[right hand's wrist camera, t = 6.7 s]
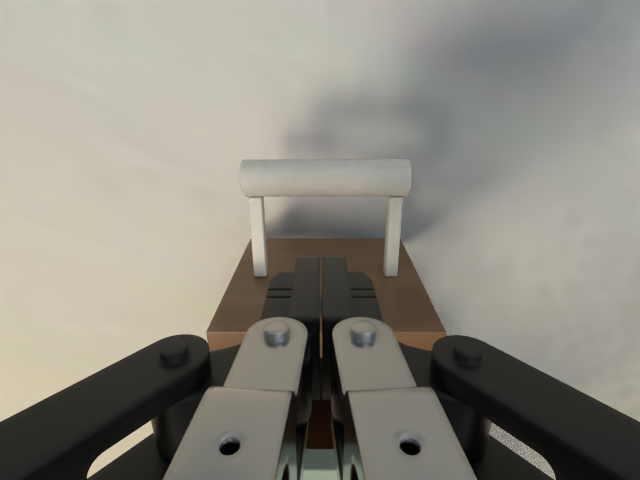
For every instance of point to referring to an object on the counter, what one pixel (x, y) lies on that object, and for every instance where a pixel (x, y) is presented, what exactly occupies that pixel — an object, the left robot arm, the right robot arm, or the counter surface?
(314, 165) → the drawer
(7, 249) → the counter surface
